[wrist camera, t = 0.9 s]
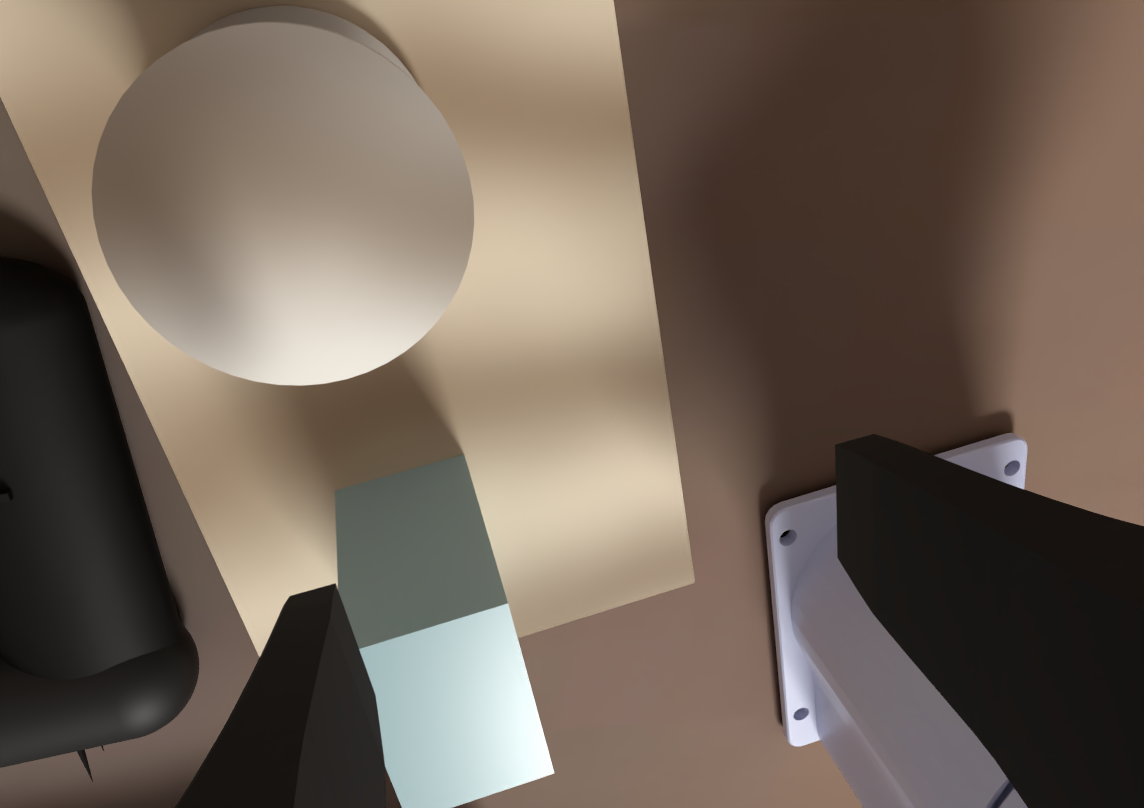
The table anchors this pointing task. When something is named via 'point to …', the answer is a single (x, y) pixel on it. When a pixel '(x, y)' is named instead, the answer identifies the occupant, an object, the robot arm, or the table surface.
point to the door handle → (74, 543)
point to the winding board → (472, 369)
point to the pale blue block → (437, 637)
